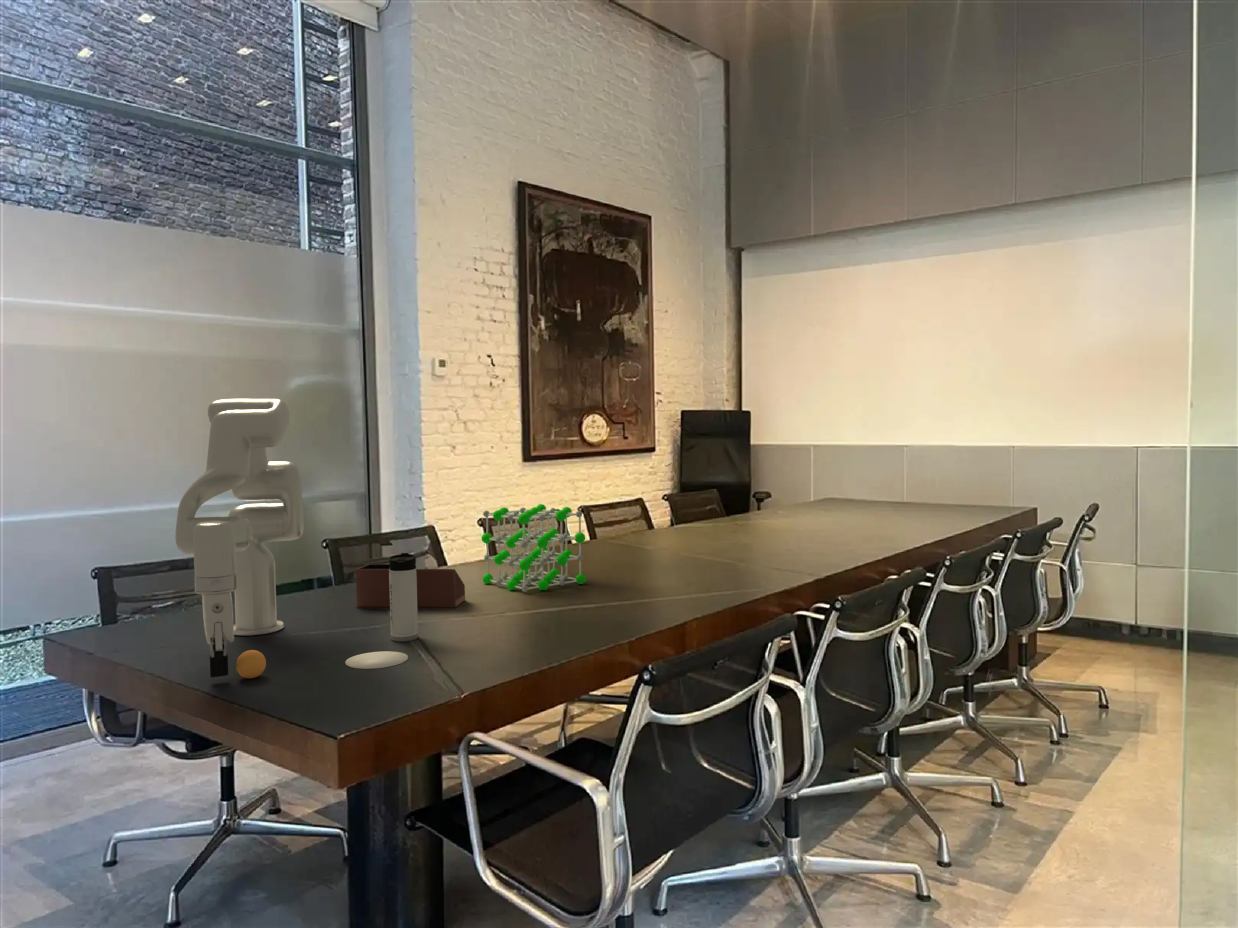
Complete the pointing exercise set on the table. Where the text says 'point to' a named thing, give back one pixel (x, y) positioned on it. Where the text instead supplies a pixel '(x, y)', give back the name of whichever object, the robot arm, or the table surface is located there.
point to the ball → (250, 664)
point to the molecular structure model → (541, 551)
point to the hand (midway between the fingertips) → (219, 675)
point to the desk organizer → (431, 588)
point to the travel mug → (403, 597)
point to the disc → (376, 660)
